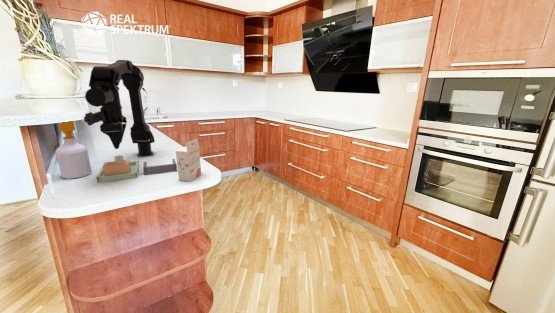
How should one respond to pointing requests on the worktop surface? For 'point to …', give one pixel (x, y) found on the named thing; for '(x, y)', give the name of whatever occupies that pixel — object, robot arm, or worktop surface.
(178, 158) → the ink cartridge box
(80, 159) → the soap bottle
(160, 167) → the printer bay
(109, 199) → the worktop surface
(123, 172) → the raised panel orange block
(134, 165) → the tray
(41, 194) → the worktop surface
